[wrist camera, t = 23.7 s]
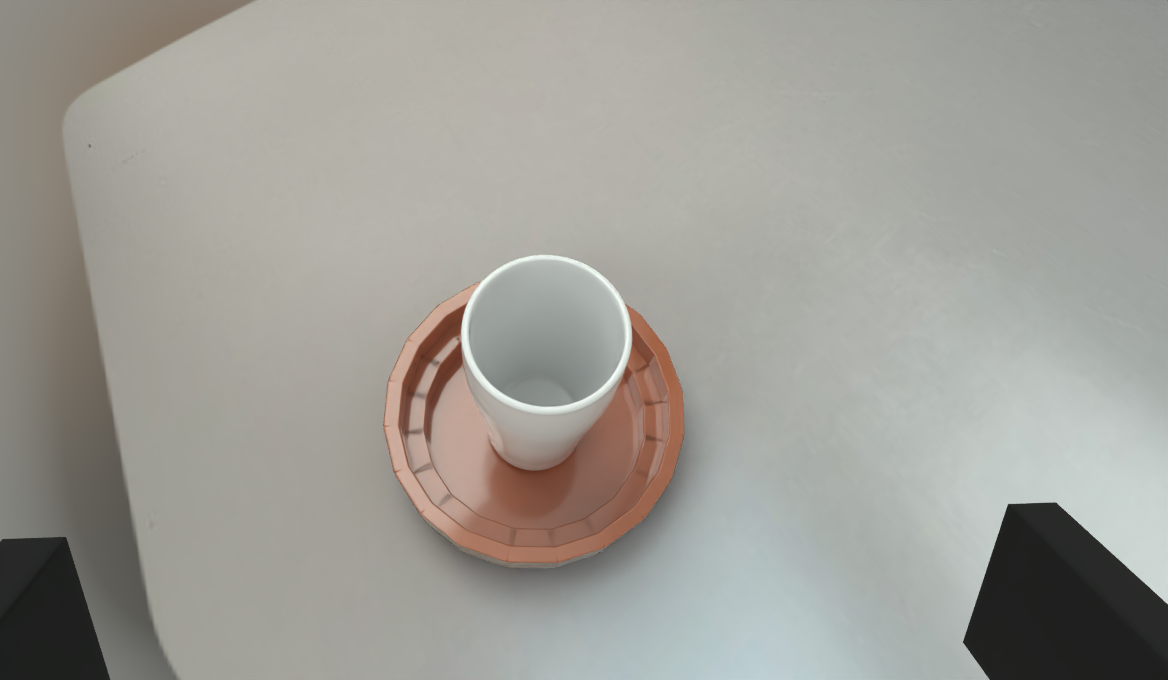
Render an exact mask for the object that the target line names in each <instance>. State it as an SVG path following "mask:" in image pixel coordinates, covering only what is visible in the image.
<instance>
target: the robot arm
mask: <svg viewBox="0 0 1168 680" xmlns="http://www.w3.org/2000/svg"><path fill="white" fill-rule="evenodd" d="M963 643H964V644H965V646H966V647H967V648H968V650H969V651H970V653H971V654H972V655H973V657H974V658H975V660H976V661H977V662H978V664H979V665H980V667H981V668H982V669H983V671H984V672H985V674H986V675H987V676H988V678H989V679H990V680H1168V604H1167V603H1165V602H1164V601H1163V600H1162V599H1161V598H1160V597H1159V596H1158V595H1157V594H1156V593H1155V592H1153V591H1152V590H1151V589H1150V588H1149V587H1148V586H1147V585H1146V584H1145V583H1144V582H1142V581H1141V580H1140V579H1139V578H1138V577H1137V576H1136V575H1135V574H1134V573H1133V572H1132V571H1130V570H1129V569H1128V568H1127V567H1126V566H1125V565H1124V564H1123V563H1122V562H1121V561H1119V560H1118V559H1117V558H1116V557H1115V556H1114V555H1113V554H1112V553H1111V552H1110V551H1108V550H1107V549H1106V548H1105V547H1104V546H1103V545H1102V544H1101V543H1100V542H1099V541H1098V540H1096V539H1095V538H1094V537H1093V536H1092V535H1091V534H1090V533H1089V532H1088V531H1087V530H1085V529H1084V528H1083V527H1082V526H1081V525H1080V524H1079V523H1078V522H1077V521H1076V520H1075V519H1073V518H1072V517H1071V516H1070V515H1069V514H1068V513H1067V512H1066V511H1065V510H1064V509H1062V508H1061V507H1060V506H1059V505H1058V504H1057V503H1028V504H1008V506H1007V509H1006V512H1005V515H1004V518H1003V521H1002V525H1001V528H1000V531H999V534H998V537H997V540H996V543H995V546H994V549H993V552H992V555H991V558H990V561H989V564H988V567H987V570H986V574H985V577H984V580H983V583H982V586H981V589H980V592H979V595H978V598H977V601H976V604H975V607H974V610H973V613H972V616H971V619H970V622H969V626H968V629H967V632H966V635H965V638H964V641H963ZM0 680H110V678H109V674H108V671H107V668H106V665H105V661H104V658H103V655H102V652H101V648H100V645H99V642H98V639H97V635H96V632H95V629H94V626H93V622H92V619H91V616H90V613H89V610H88V607H87V603H86V600H85V597H84V593H83V590H82V587H81V584H80V580H79V577H78V574H77V571H76V568H75V564H74V561H73V558H72V555H71V551H70V548H69V545H68V542H67V539H66V537H54V538H25V539H3V540H2V541H1V542H0Z"/></svg>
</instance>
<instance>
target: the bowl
mask: <svg viewBox="0 0 1168 680" xmlns="http://www.w3.org/2000/svg"><path fill="white" fill-rule="evenodd" d="M480 283H481V282H478V283H476V284H474V285H472V286H470V287H468V288H467V289H465V290H463V291H462V292H460V293H458V294H456V295H455V296H453V297H451V298H450V299H448V300H446V301H444V302H443V303H441V304H439V305H438V306H437V307H436V308H435V309H434V310H433V311H432V312H431V313H430V314H429V315H428V317H427V318H426V319H425V320H424V321H423V322H422V323H421V324H420V325H419V326H418V328H417V329H416V330H415V331H414V332H413V333H412V334H411V335H410V336H409V337H408V340H406V342H405V344H404V347H403V349H402V351H401V353H400V355H399V358H398V360H397V362H396V364H395V366H394V369H393V371H392V373H391V375H390V377H389V381H388V385H387V395H386V404H385V414H384V424H383V426H384V432H385V437H386V441H387V445H388V450H389V454H390V458H391V462H392V467H393V471H394V473H395V476H396V477H397V479H398V480H399V482H400V484H401V485H402V487H403V488H404V490H405V491H406V493H407V495H408V496H409V498H410V499H411V501H412V502H413V504H414V506H415V507H416V509H417V510H418V512H419V513H420V515H421V516H422V517H423V519H424V520H425V521H426V522H427V523H428V525H430V526H431V527H432V528H433V529H435V530H436V531H437V532H438V533H440V534H441V535H442V536H444V537H445V538H446V539H447V540H449V541H450V542H451V543H452V544H454V545H455V546H456V547H457V548H459V549H460V550H461V551H463V552H464V553H467V554H470V555H472V556H475V557H478V558H481V559H484V560H487V561H489V562H492V563H495V564H498V565H501V566H503V567H508V568H556V567H559V566H563V565H566V564H569V563H572V562H575V561H578V560H581V559H584V558H587V557H590V556H593V555H596V554H598V553H600V552H601V551H602V550H604V549H605V548H606V547H608V546H609V545H611V544H612V543H613V542H615V541H616V540H617V539H619V538H620V537H621V536H623V535H624V534H625V533H627V532H628V531H629V530H631V529H632V528H633V527H635V526H636V525H637V524H638V523H640V522H641V521H642V520H643V519H644V518H645V517H646V516H647V515H648V513H649V512H650V510H651V509H652V507H653V506H654V504H655V503H656V502H657V500H658V499H659V497H660V496H661V494H662V493H663V491H664V490H665V489H666V487H667V486H668V484H669V483H670V481H671V479H672V476H673V473H674V470H675V466H676V463H677V459H678V456H679V452H680V449H681V445H682V442H683V438H684V415H683V391H682V388H681V386H680V383H679V380H678V378H677V375H676V372H675V369H674V367H673V364H672V361H671V359H670V356H669V353H668V351H667V350H666V349H667V348H666V347H665V346H664V344H663V343H662V342H661V341H660V339H659V338H658V337H657V335H656V334H655V333H654V332H653V330H652V329H651V328H650V326H649V325H648V324H647V323H646V321H645V320H644V319H643V317H642V316H641V315H640V314H639V313H637V312H636V311H635V310H633V309H632V308H630V307H629V306H628V305H626V304H625V305H626V308H627V310H628V313H629V317H630V321H631V327H632V347H631V352H630V356H629V360H628V363H627V366H626V369H625V372H624V376H623V378H622V381H621V383H620V385H619V388H618V390H617V392H616V394H615V396H614V398H613V399H612V401H611V403H610V405H609V406H608V407H607V409H606V410H605V412H604V413H603V415H602V416H601V417H600V418H599V419H598V420H597V422H596V423H595V424H594V425H593V426H592V427H591V428H590V430H589V431H588V432H587V433H586V434H585V435H584V436H583V437H582V439H581V440H580V441H579V443H578V445H577V447H576V449H575V450H574V451H573V453H572V454H571V455H570V456H569V457H568V458H567V459H566V460H565V461H563V462H562V463H560V464H559V465H557V466H555V467H552V468H550V469H546V470H540V471H530V470H524V469H520V468H517V467H515V466H513V465H511V464H509V463H508V462H506V461H505V460H504V459H503V458H502V457H501V456H500V455H499V454H498V453H497V452H496V450H495V449H494V447H493V446H492V443H491V441H490V439H489V435H488V430H487V428H486V425H485V423H484V421H483V419H482V417H481V415H480V413H479V411H478V409H477V407H476V405H475V403H474V401H473V399H472V396H471V394H470V391H469V388H468V385H467V382H466V378H465V373H464V368H463V361H462V346H461V326H462V319H463V315H464V311H465V308H466V306H467V303H468V301H469V299H470V297H471V295H472V294H473V292H474V291H475V289H476V288H477V287H478V286H479V284H480Z"/></svg>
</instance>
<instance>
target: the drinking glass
mask: <svg viewBox="0 0 1168 680" xmlns="http://www.w3.org/2000/svg"><path fill="white" fill-rule="evenodd" d="M461 346H462V361H463V368H464V373H465V378H466V382H467V385H468V388H469V391H470V394H471V396H472V399H473V401H474V403H475V405H476V407H477V409H478V411H479V413H480V415H481V417H482V419H483V421H484V423H485V425H486V428H487V430H488V435H489V439H490V441H491V443H492V446H493V447H494V449H495V450H496V452H497V453H498V454H499V455H500V456H501V457H502V458H503V459H504V460H505V461H506V462H508V463H509V464H511V465H513V466H515V467H517V468H520V469H524V470H530V471H540V470H546V469H550V468H552V467H555V466H557V465H559V464H560V463H562V462H563V461H565V460H566V459H567V458H568V457H569V456H570V455H571V454H572V453H573V451H574V450H575V449H576V447H577V445H578V443H579V441H580V440H581V439H582V437H583V436H584V435H585V434H586V433H587V432H588V431H589V430H590V428H591V427H592V426H593V425H594V424H595V423H596V422H597V420H598V419H599V418H600V417H601V416H602V415H603V413H604V412H605V410H606V409H607V407H608V406H609V405H610V403H611V401H612V399H613V398H614V396H615V394H616V392H617V390H618V388H619V385H620V383H621V381H622V378H623V376H624V372H625V369H626V366H627V363H628V360H629V356H630V352H631V347H632V327H631V321H630V317H629V313H628V310H627V308H626V305H625V303H624V301H623V299H622V298H621V296H620V294H619V293H618V291H617V290H616V289H615V287H614V286H613V285H612V284H611V283H610V282H609V281H608V280H607V279H606V278H605V277H604V276H603V275H601V274H600V273H599V272H598V271H596V270H595V269H593V268H592V267H590V266H588V265H586V264H584V263H582V262H579V261H577V260H574V259H571V258H567V257H562V256H556V255H535V256H528V257H523V258H520V259H517V260H514V261H511V262H509V263H507V264H505V265H503V266H501V267H499V268H498V269H496V270H495V271H493V272H492V273H491V274H489V275H488V276H487V277H486V278H485V279H484V280H483V281H482V282H481V283H480V284H479V286H478V287H477V288H476V289H475V291H474V292H473V294H472V295H471V297H470V299H469V301H468V303H467V306H466V308H465V311H464V315H463V319H462V326H461Z"/></svg>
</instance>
